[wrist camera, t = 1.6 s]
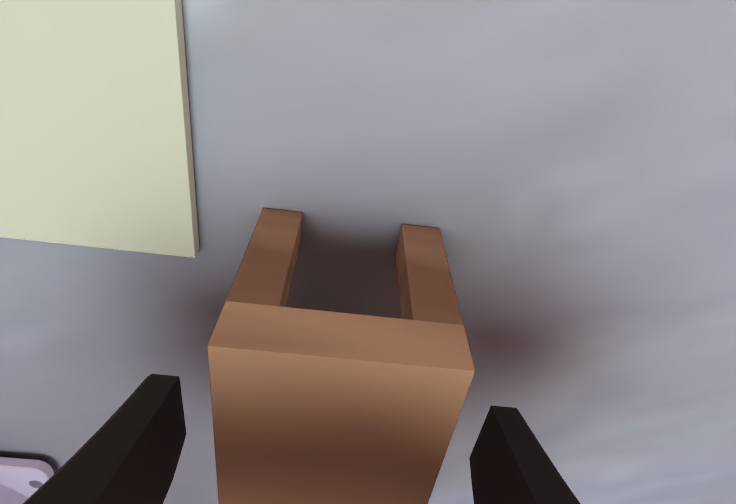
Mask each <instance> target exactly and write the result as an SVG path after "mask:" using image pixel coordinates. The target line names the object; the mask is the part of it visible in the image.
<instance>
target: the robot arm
mask: <svg viewBox="0 0 736 504" xmlns="http://www.w3.org/2000/svg"><path fill="white" fill-rule="evenodd" d="M185 436H186V427H185V419H184V411H183V403H182V395H181V387H180V379H179V376H168V375H158V374H151V375H149V376H148V377H147V378H146V379H145V380H144V381H143V382H142V383H141V385H140V386H139V387H138V388H137V389H136V390H135V391H134V392H133V394H132V395H131V396H130V397H129V398H128V399H127V400H126V401H125V402H124V403H123V405H122V406H121V407H120V408H119V409H118V410H117V411H116V412H115V413H114V414H113V415H112V416H111V417H110V419H109V420H108V421H107V422H106V423H105V424H104V425H103V426H102V427H101V428H100V429H99V430H98V431H97V432H96V433H95V434H94V435H93V436H92V437H91V438H90V439H89V440H88V441H87V442H86V443H85V444H84V445H83V446H82V447H81V448H80V449H79V450H78V451H77V452H76V453H75V455H74V456H73V457H72V458H71V459H70V460H69V461H67V462H66V463H65V464H64V465H63V466H62V467H61V468H60V469H59V470H58V471H57V472H56V473H55V474H54V472H53V469H52V467H51V466H50V465H49V464H48V463H46V462H44V461H41V460H34V459H21V458H8V457H0V504H163V502H164V499H165V497H166V495H167V492H168V490H169V487H170V485H171V482H172V480H173V477H174V474H175V470H176V467H177V464H178V461H179V457H180V454H181V450H182V447H183V443H184V440H185ZM470 468H471V479H472V489H473V498H474V504H580V503H579V501H578V500H577V498H576V497H575V495H574V494H573V493H572V491H571V490H570V488H569V487H568V485H567V484H566V483H565V481H564V480H563V478H562V477H561V475H560V474H559V472H558V471H557V469H556V468H555V466H554V465H553V463H552V462H551V460H550V459H549V457H548V456H547V454H546V453H545V451H544V450H543V448H542V447H541V445H540V443H539V442H538V440H537V439H536V437H535V436H534V434H533V433H532V431H531V429H530V428H529V426H528V425H527V423H526V422H525V420H524V418H523V417H522V415H521V414H520V412H519V411H518V410H517V408H510V407H500V406H491V407H490V410H489V412H488V414H487V417H486V419H485V422H484V424H483V427H482V429H481V431H480V434H479V436H478V439H477V441H476V444H475V446H474V448H473V451H472V453H471V456H470Z"/></svg>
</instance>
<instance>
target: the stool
mask: <svg viewBox="0 0 736 504" xmlns="http://www.w3.org/2000/svg"><path fill="white" fill-rule="evenodd" d="M301 226H302V212H293V211H285V210H276V209H267V208H263V210H262V213H261V215H260V217H259V220H258V222H257V225H256V227H255V230H254V232H253V235H252V237H251V240H250V242H249V245H248V247H247V250H246V252H245V255H244V257H243V259H242V262H241V264H240V267H239V269H238V272H237V274H236V277H235V279H234V282H233V284H232V287H231V289H230V292H229V294H228V297H227V299H226V301H225V304H224V306H223V309H222V311H221V314H220V316H219V319H218V321H217V324H216V326H215V329H214V331H213V334H212V336H211V339H210V341H209V343H208V359H209V373H210V387H211V402H212V416H213V430H214V444H215V458H216V472H217V486H218V500H219V504H428V501H429V498H430V496H431V493H432V490H433V487H434V485H435V482H436V479H437V476H438V473H439V471H440V468H441V465H442V462H443V459H444V457H445V454H446V451H447V448H448V446H449V443H450V440H451V437H452V434H453V432H454V429H455V426H456V423H457V420H458V418H459V415H460V412H461V409H462V407H463V404H464V401H465V398H466V395H467V393H468V390H469V387H470V384H471V381H472V379H473V376H474V373H475V368H474V364H473V360H472V357H471V353H470V349H469V345H468V341H467V337H466V333H465V329H464V325H463V321H462V317H461V313H460V309H459V305H458V301H457V297H456V293H455V289H454V285H453V281H452V277H451V273H450V269H449V265H448V261H447V257H446V253H445V249H444V245H443V241H442V237H441V233H440V229H439V228H432V227H423V226H414V225H406V224H402V225H401V231H400V236H399V241H398V246H397V251H396V266H397V277H398V289H399V300H400V311H401V319H399V318H389V317H379V316H369V315H359V314H349V313H340V312H330V311H320V310H310V309H300V308H290V307H286V305H287V301H288V296H289V292H290V288H291V283H292V279H293V275H294V270H295V266H296V262H297V257H298V253H299V249H300V242H301Z"/></svg>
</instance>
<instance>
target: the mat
mask: <svg viewBox="0 0 736 504" xmlns="http://www.w3.org/2000/svg"><path fill="white" fill-rule="evenodd" d="M0 237H5V238H14V239H24V240H33V241H42V242H52V243H61V244H70V245H80V246H89V247H98V248H108V249H117V250H126V251H136V252H145V253H154V254H164V255H173V256H182V257H192V258H195V257H196V255H197V253H198V252H199V236H198V222H197V208H196V195H195V181H194V167H193V153H192V139H191V126H190V112H189V98H188V84H187V70H186V57H185V43H184V29H183V15H182V1H181V0H0Z"/></svg>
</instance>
